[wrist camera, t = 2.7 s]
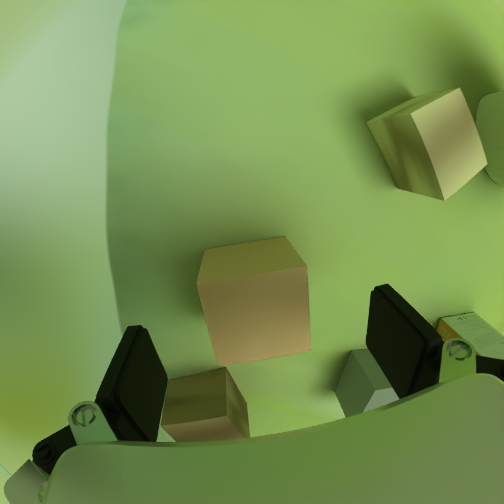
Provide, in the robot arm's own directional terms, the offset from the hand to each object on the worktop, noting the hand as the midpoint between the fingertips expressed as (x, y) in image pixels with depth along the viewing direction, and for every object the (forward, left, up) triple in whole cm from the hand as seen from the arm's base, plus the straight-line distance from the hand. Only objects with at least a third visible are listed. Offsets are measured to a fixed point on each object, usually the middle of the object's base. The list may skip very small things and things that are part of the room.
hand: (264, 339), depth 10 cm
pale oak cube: (+7, -12, -7) cm, 16 cm away
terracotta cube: (-1, 0, -7) cm, 7 cm away
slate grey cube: (-12, -9, -7) cm, 16 cm away
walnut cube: (-11, +5, -7) cm, 14 cm away
